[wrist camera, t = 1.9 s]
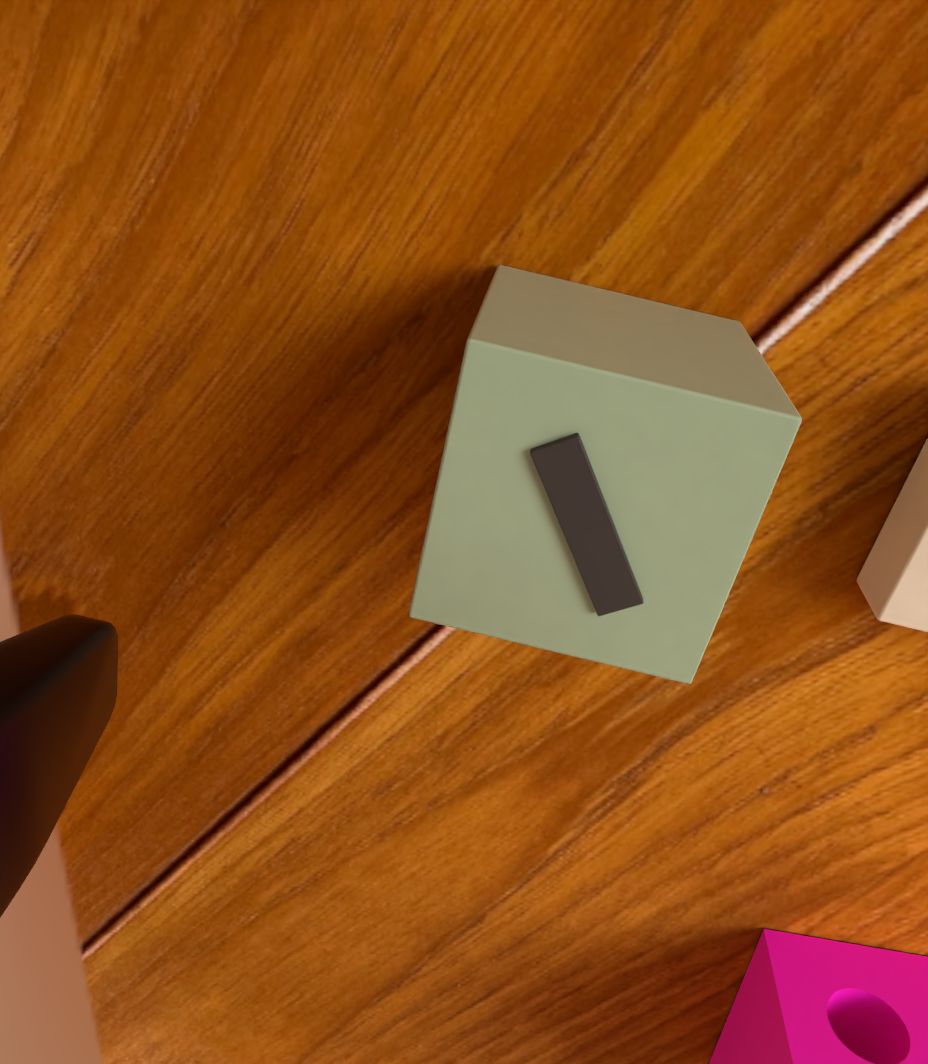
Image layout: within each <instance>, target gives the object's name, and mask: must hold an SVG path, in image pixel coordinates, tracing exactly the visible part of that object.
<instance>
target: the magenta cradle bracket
mask: <svg viewBox="0 0 928 1064" xmlns="http://www.w3.org/2000/svg"><path fill="white" fill-rule="evenodd" d="M709 1064H928V957H927V956H921V955H915V954H909V953H903V952H897V951H891V950H885V949H880V948H874V947H868V946H862V945H856V944H850V943H844V942H838V941H833V940H827V939H821V938H815V937H809V936H803V935H797V934H791V933H785V932H780V931H774V930H768V929H763V932H762V934H761V937H760V939H759V942H758V944H757V947H756V949H755V952H754V954H753V956H752V959H751V961H750V964H749V966H748V969H747V971H746V974H745V976H744V979H743V981H742V983H741V986H740V988H739V991H738V993H737V996H736V998H735V1001H734V1003H733V1006H732V1008H731V1010H730V1013H729V1015H728V1018H727V1020H726V1023H725V1025H724V1028H723V1030H722V1033H721V1035H720V1037H719V1040H718V1042H717V1045H716V1047H715V1050H714V1052H713V1055H712V1057H711V1060H710V1062H709Z"/></svg>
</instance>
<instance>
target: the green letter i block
mask: <svg viewBox="0 0 928 1064" xmlns="http://www.w3.org/2000/svg"><path fill="white" fill-rule="evenodd" d="M801 422H802V417H801V416H800V414H799V413H798V411H797V409H796V408H795V406H794V405H793V403H792V402H791V400H790V399H789V397H788V396H787V394H786V392H785V391H784V389H783V388H782V386H781V385H780V383H779V382H778V380H777V378H776V377H775V375H774V374H773V372H772V371H771V369H770V368H769V366H768V364H767V363H766V361H765V360H764V358H763V357H762V355H761V354H760V352H759V350H758V349H757V347H756V346H755V344H754V343H753V341H752V340H751V338H750V336H749V335H748V333H747V332H746V330H745V329H744V327H743V326H742V324H741V323H740V322H739V321H735V320H731V319H727V318H722V317H718V316H714V315H710V314H706V313H701V312H697V311H693V310H689V309H685V308H680V307H676V306H672V305H668V304H663V303H659V302H655V301H651V300H647V299H642V298H638V297H634V296H630V295H626V294H621V293H617V292H613V291H609V290H605V289H600V288H596V287H592V286H588V285H583V284H579V283H575V282H571V281H567V280H562V279H558V278H554V277H550V276H546V275H541V274H537V273H533V272H529V271H525V270H520V269H516V268H512V267H508V266H503V265H498V267H497V269H496V271H495V273H494V276H493V278H492V281H491V283H490V285H489V288H488V290H487V293H486V295H485V298H484V300H483V302H482V305H481V307H480V310H479V312H478V314H477V317H476V319H475V322H474V324H473V327H472V329H471V331H470V334H469V336H468V339H467V341H466V346H465V350H464V355H463V360H462V365H461V369H460V374H459V379H458V383H457V388H456V393H455V398H454V402H453V407H452V412H451V416H450V421H449V426H448V431H447V435H446V440H445V445H444V449H443V454H442V459H441V464H440V468H439V473H438V478H437V482H436V487H435V492H434V497H433V501H432V506H431V511H430V515H429V520H428V525H427V530H426V534H425V539H424V544H423V548H422V553H421V558H420V563H419V567H418V572H417V577H416V581H415V586H414V591H413V596H412V600H411V605H410V610H409V616H410V617H411V618H415V619H419V620H424V621H428V622H432V623H436V624H440V625H444V626H449V627H453V628H457V629H461V630H465V631H470V632H474V633H478V634H482V635H486V636H490V637H495V638H499V639H503V640H507V641H511V642H515V643H520V644H524V645H528V646H532V647H536V648H540V649H545V650H549V651H553V652H557V653H561V654H566V655H570V656H574V657H578V658H582V659H586V660H591V661H595V662H599V663H603V664H607V665H611V666H616V667H620V668H624V669H628V670H632V671H637V672H641V673H645V674H649V675H653V676H657V677H662V678H666V679H670V680H674V681H678V682H682V683H687V684H690V683H691V682H692V680H693V678H694V676H695V673H696V671H697V668H698V666H699V664H700V661H701V659H702V657H703V654H704V652H705V649H706V647H707V645H708V642H709V640H710V638H711V635H712V633H713V630H714V628H715V626H716V623H717V621H718V619H719V616H720V614H721V611H722V609H723V607H724V604H725V602H726V600H727V597H728V595H729V593H730V590H731V588H732V585H733V583H734V581H735V578H736V576H737V574H738V571H739V569H740V566H741V564H742V562H743V559H744V557H745V555H746V552H747V550H748V547H749V545H750V543H751V540H752V538H753V536H754V533H755V531H756V528H757V526H758V524H759V521H760V519H761V517H762V514H763V512H764V509H765V507H766V505H767V502H768V500H769V498H770V495H771V493H772V490H773V488H774V486H775V483H776V481H777V479H778V476H779V474H780V472H781V469H782V467H783V464H784V462H785V460H786V457H787V455H788V453H789V450H790V448H791V445H792V443H793V441H794V438H795V436H796V434H797V431H798V429H799V426H800V424H801Z"/></svg>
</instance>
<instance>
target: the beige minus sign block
mask: <svg viewBox="0 0 928 1064" xmlns="http://www.w3.org/2000/svg"><path fill="white" fill-rule="evenodd" d="M857 583H858V585H859V587H860V589H861V591H862V593H863V594H864V596H865V598H866V600H867V602H868V604H869V606H870V607H871V609H872V611H873V613H874V615H875V617H876V618H877V620H879V621H883V622H887V623H891V624H895V625H899V626H904V627H908V628H912V629H916V630H920V631H925V632H928V438H927V440H926V442H925V444H924V446H923V448H922V450H921V452H920V454H919V456H918V458H917V460H916V462H915V464H914V466H913V468H912V470H911V472H910V474H909V476H908V478H907V480H906V482H905V484H904V486H903V488H902V490H901V492H900V494H899V496H898V498H897V500H896V502H895V504H894V506H893V508H892V510H891V512H890V514H889V516H888V518H887V520H886V522H885V524H884V526H883V528H882V530H881V532H880V534H879V536H878V538H877V540H876V542H875V544H874V546H873V548H872V550H871V552H870V554H869V556H868V558H867V560H866V562H865V564H864V566H863V568H862V570H861V572H860V574H859V576H858V577H857Z"/></svg>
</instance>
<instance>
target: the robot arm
mask: <svg viewBox="0 0 928 1064" xmlns="http://www.w3.org/2000/svg"><path fill="white" fill-rule="evenodd" d="M117 666H118V635H117V631H116V628H115V627H114V626H113V625H112V624H111V623H109V622H106V621H102V620H98V619H93V618H89V617H85V616H81V615H74V614H71V615H66V616H63V617H60V618H58V619H55V620H53V621H50V622H48V623H46V624H43V625H41V626H38V627H36V628H33V629H31V630H28V631H26V632H24V633H21V634H19V635H16V636H14V637H12V638H9V639H6V640H4V641H2V642H0V917H1V916H2V914H3V913H4V911H5V910H6V908H7V907H8V905H9V903H10V902H11V901H12V899H13V898H14V896H15V894H16V893H17V892H18V890H19V888H20V887H21V885H22V884H23V882H24V880H25V879H26V877H27V876H28V874H29V872H30V871H31V869H32V868H33V866H34V864H35V863H36V861H37V859H38V857H39V855H40V853H41V852H42V850H43V848H44V846H45V844H46V842H47V840H48V839H49V837H50V835H51V833H52V831H53V829H54V827H55V825H56V823H57V821H58V819H59V817H60V815H61V813H62V811H63V809H64V807H65V805H66V803H67V801H68V800H69V798H70V796H71V794H72V792H73V790H74V788H75V786H76V784H77V782H78V780H79V778H80V776H81V774H82V772H83V770H84V768H85V766H86V764H87V762H88V760H89V758H90V757H91V755H92V753H93V751H94V749H95V747H96V745H97V743H98V741H99V739H100V737H101V735H102V733H103V731H104V729H105V727H106V725H107V723H108V721H109V719H110V717H111V715H112V712H113V709H114V706H115V702H116V696H117Z"/></svg>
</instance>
